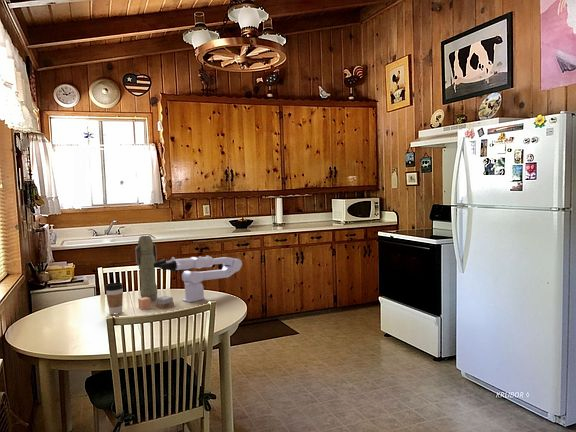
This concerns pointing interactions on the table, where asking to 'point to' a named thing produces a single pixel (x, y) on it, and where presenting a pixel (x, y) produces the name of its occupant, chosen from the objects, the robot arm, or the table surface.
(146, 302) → the terracotta block
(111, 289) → the coffee cup
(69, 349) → the table surface
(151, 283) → the stone statue
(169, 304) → the tower base
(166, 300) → the tower middle
